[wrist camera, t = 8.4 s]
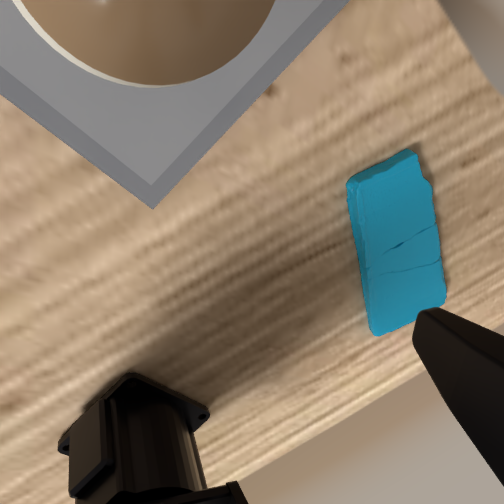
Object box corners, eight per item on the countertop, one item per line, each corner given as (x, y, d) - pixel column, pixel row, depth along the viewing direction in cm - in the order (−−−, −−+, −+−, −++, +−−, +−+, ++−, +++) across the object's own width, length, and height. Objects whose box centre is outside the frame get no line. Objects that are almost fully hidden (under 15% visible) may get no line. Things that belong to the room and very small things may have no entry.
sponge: (451, 136, 23) (357, 182, 22) (451, 304, 30) (380, 346, 29) (430, 130, 24) (340, 173, 23) (434, 292, 31) (365, 332, 30)
